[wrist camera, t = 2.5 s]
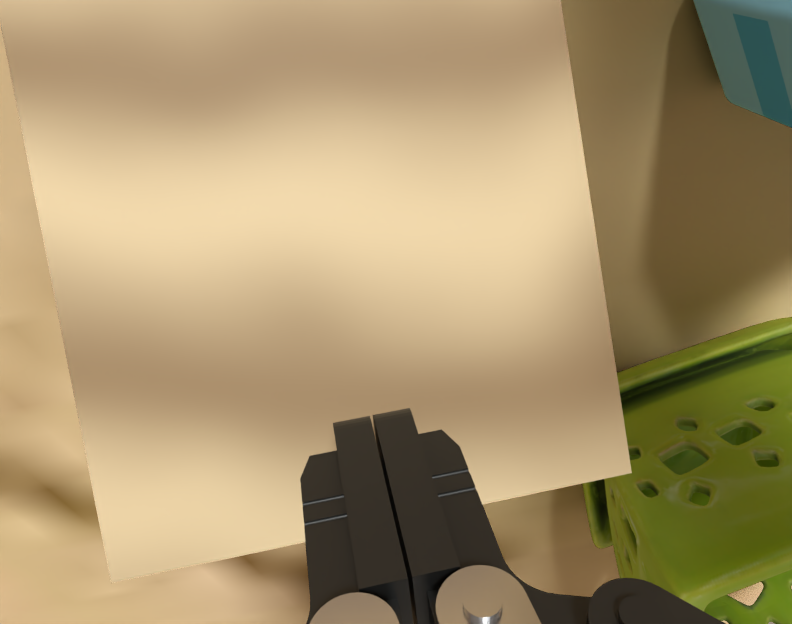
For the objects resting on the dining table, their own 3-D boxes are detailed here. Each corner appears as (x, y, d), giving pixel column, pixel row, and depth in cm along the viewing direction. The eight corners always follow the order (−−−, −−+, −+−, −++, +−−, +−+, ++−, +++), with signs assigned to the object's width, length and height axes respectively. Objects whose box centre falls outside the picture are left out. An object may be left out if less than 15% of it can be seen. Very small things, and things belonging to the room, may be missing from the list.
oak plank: (-44, -383, 15) (-101, -488, 13) (463, -408, 16) (484, -507, 14) (136, 546, 16) (111, 583, 14) (595, 451, 17) (632, 472, 15)
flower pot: (565, 534, 39) (683, 769, 28) (529, 362, 31) (672, 597, 20) (784, 457, 39) (984, 663, 28) (802, 266, 31) (1087, 451, 20)
